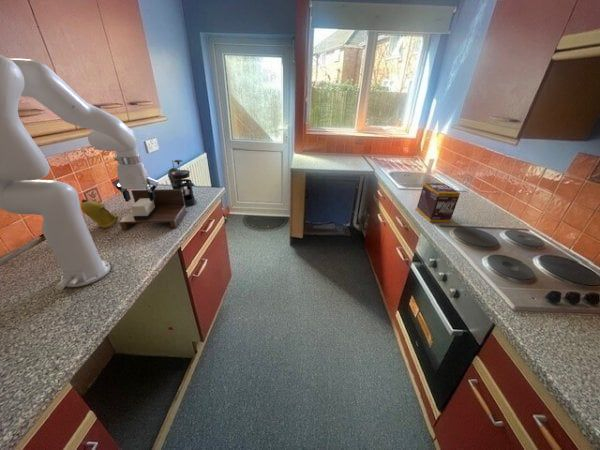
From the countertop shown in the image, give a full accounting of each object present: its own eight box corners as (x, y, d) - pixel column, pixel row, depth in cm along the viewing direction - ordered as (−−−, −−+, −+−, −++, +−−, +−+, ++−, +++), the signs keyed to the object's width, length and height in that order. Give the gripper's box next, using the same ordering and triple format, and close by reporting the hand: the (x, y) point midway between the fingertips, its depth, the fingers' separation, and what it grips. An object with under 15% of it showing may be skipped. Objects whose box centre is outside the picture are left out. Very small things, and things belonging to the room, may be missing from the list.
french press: (184, 198, 139) (175, 157, 128) (199, 200, 137) (192, 158, 126) (171, 207, 128) (160, 162, 117) (187, 208, 127) (178, 164, 116)
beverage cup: (183, 191, 148) (176, 157, 138) (187, 195, 143) (181, 160, 133) (170, 194, 144) (162, 159, 134) (174, 198, 139) (166, 162, 129)
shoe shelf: (176, 228, 109) (170, 203, 104) (122, 230, 106) (112, 204, 101) (186, 211, 124) (181, 189, 118) (139, 213, 121) (132, 189, 116)
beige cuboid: (147, 219, 107) (144, 206, 104) (134, 219, 107) (130, 207, 104) (158, 207, 118) (154, 196, 115) (145, 208, 117) (142, 196, 114)
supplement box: (429, 222, 122) (439, 192, 114) (416, 209, 135) (423, 182, 128) (450, 222, 122) (461, 193, 115) (434, 209, 136) (443, 182, 128)
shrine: (105, 234, 103) (92, 200, 96) (86, 232, 104) (71, 199, 96) (124, 221, 113) (113, 190, 106) (107, 220, 114) (95, 189, 106)
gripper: (100, 162, 95) (114, 204, 103) (148, 162, 97) (158, 203, 105) (111, 158, 102) (123, 197, 109) (156, 158, 104) (164, 197, 112)
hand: (140, 200), depth 107 cm, fingers open, 9 cm apart
